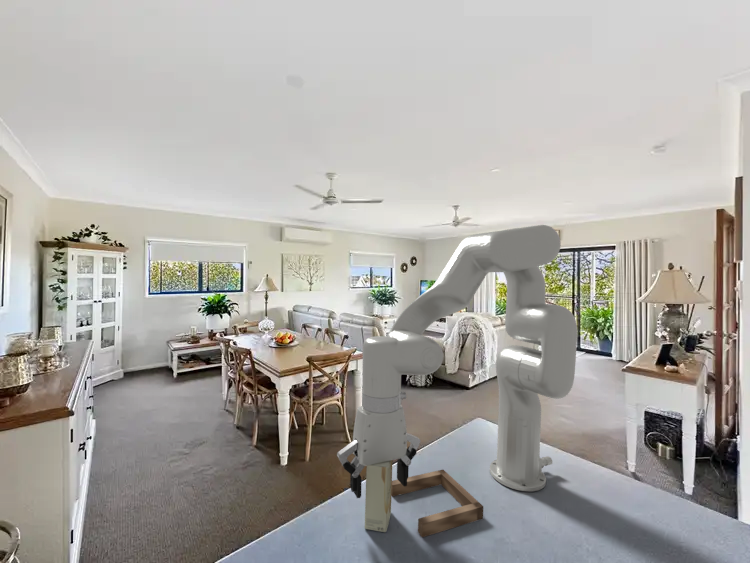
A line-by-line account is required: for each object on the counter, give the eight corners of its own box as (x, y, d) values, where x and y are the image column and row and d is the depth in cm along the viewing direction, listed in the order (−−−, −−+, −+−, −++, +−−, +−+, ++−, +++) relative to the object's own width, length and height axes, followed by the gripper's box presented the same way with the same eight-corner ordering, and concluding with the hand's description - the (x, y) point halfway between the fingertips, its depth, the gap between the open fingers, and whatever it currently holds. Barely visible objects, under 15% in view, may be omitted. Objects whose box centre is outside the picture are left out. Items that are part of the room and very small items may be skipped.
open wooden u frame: (442, 479, 81) (443, 469, 81) (483, 518, 68) (483, 506, 68) (389, 492, 76) (389, 481, 76) (422, 537, 63) (422, 524, 63)
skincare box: (386, 533, 64) (388, 468, 64) (363, 529, 65) (365, 465, 64) (391, 511, 70) (393, 451, 70) (370, 507, 71) (372, 448, 71)
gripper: (411, 389, 74) (409, 468, 74) (332, 400, 67) (331, 487, 67) (429, 402, 67) (428, 489, 67) (344, 414, 60) (343, 511, 60)
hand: (379, 488), depth 67 cm, fingers open, 9 cm apart
